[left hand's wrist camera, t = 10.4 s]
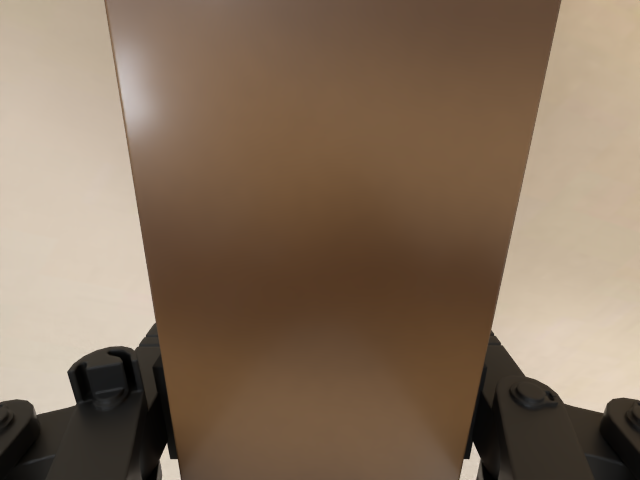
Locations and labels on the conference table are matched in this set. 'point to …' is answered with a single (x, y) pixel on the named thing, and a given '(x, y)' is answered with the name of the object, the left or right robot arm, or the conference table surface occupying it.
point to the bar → (327, 220)
